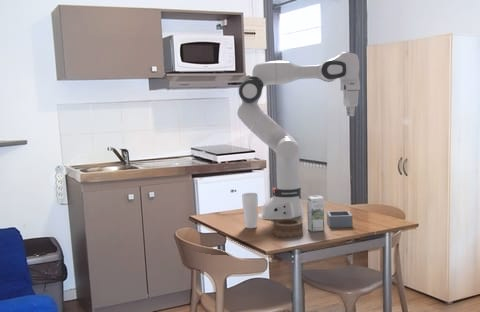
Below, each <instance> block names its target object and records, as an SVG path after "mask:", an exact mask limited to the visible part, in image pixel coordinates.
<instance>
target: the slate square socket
mask: <svg viewBox="0 0 480 312" xmlns="http://www.w3.org/2000/svg"><path fill="white" fill-rule="evenodd" d="M326 223H327V224H328V227H329V228H332V229H334V228H335V229H336V228H337V229H338V228H353V227H354V226H353V225H354V224H353V223H354V222H353V215H352V212H350V210H331V211H329V210H328V211H326Z"/></svg>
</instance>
